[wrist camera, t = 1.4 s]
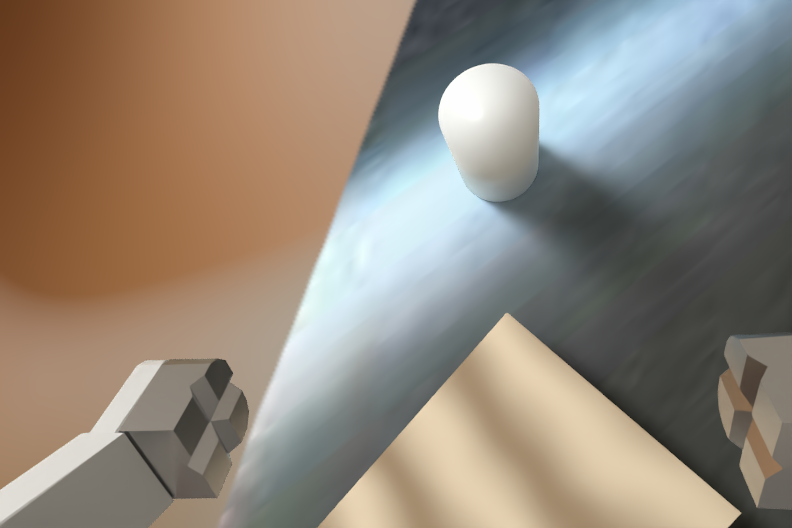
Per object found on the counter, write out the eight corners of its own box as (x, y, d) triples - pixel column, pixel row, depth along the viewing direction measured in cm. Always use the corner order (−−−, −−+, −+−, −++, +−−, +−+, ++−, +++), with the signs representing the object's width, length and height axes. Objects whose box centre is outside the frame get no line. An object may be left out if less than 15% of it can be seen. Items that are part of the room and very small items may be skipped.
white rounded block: (494, 113, 37) (482, 45, 28) (555, 157, 35) (561, 99, 27) (444, 171, 37) (418, 120, 29) (503, 217, 35) (492, 178, 27)
